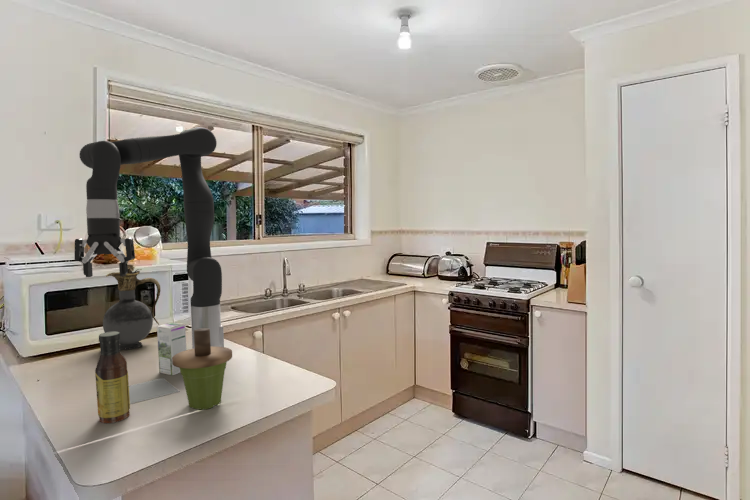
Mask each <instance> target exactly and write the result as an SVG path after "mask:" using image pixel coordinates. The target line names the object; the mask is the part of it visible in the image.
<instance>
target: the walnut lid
mask: <svg viewBox="0 0 750 500" xmlns="http://www.w3.org/2000/svg"><path fill="white" fill-rule="evenodd" d="M194 346H195V348H194V349H192V348H190V349H186V351H182V352H180V353H177V354H176V355H174V356H173V357H172V364H173V365H174V366H175V367H179V368H189V369H191V368H204V367H210V366H215V365H219V364H222V363H225V362H226V363H227V362H229V361H231V360H232V358H233V349H232V348H229V347H225V346H224V347H211V345H210V329H209V328H201V329H196V330H194Z"/></svg>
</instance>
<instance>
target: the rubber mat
mask: <svg viewBox="0 0 750 500" xmlns="http://www.w3.org/2000/svg"><path fill="white" fill-rule="evenodd" d="M176 393H180V389H178V388H176V387H175V386H174V385H173V384H172V383H170V382H169V381H168V380H166V378H164V377H160V378H156V379H151V380H148V381H143V382H139V383H134V384H131V385H130V384H129V397H130V405H134V404H137V403H141V402H145V401H148V400H152V399H157V398H160V397H163V396H169V395H173V394H176Z"/></svg>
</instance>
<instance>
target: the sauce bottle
mask: <svg viewBox="0 0 750 500" xmlns="http://www.w3.org/2000/svg"><path fill="white" fill-rule="evenodd" d="M119 339H120V333H119V332H116V331H113V332H106V333H105V332H103V333H99V334H98V342H99V345H100V346H99V348H100V350H99V358H98V360H97V364H96V367H95V370H94V372H95V374H94V375H95V376H94V377H95V387H96V400H97V401H96V402H97V403H96V404H97V415H98V418H99V419H98V420H99V422H100V423H103V424H113V423H117V422H121V421H124V420H126V419H127V418H128V417H130V413H131V411H130V409H131V404H130V397H129V386H130V384H129V372H128V363H127V359H126V358H125V357H124V355H123V354H122V353H121V350H120V344H119Z"/></svg>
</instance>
